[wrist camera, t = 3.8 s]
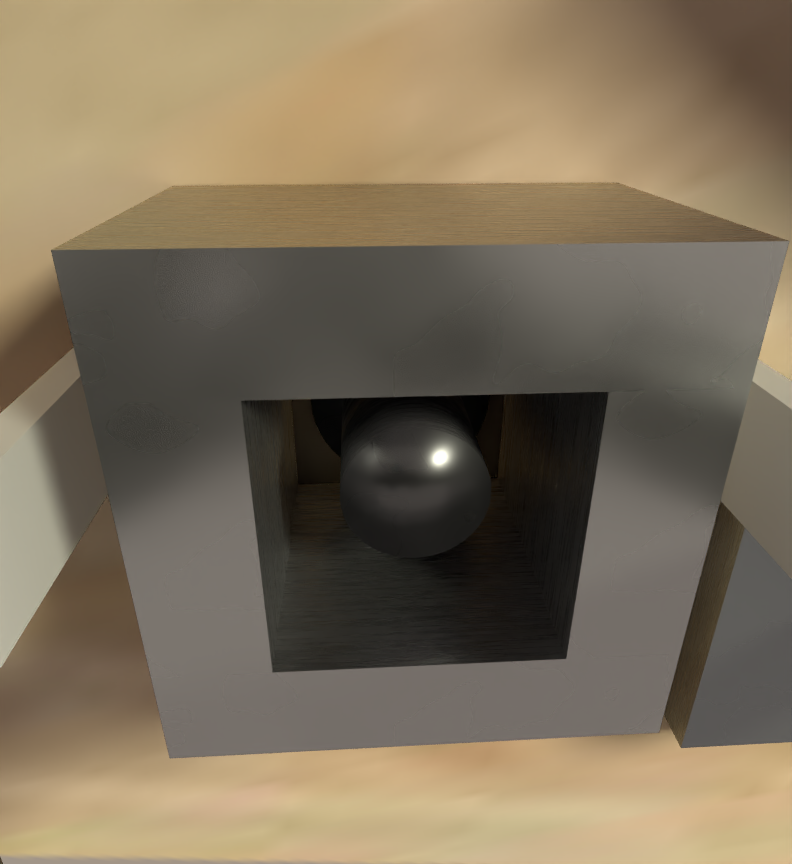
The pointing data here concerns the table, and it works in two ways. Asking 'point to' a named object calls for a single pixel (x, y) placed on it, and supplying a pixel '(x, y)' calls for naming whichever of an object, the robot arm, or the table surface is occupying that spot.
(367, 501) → the knob
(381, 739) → the collar
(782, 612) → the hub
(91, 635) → the table surface
